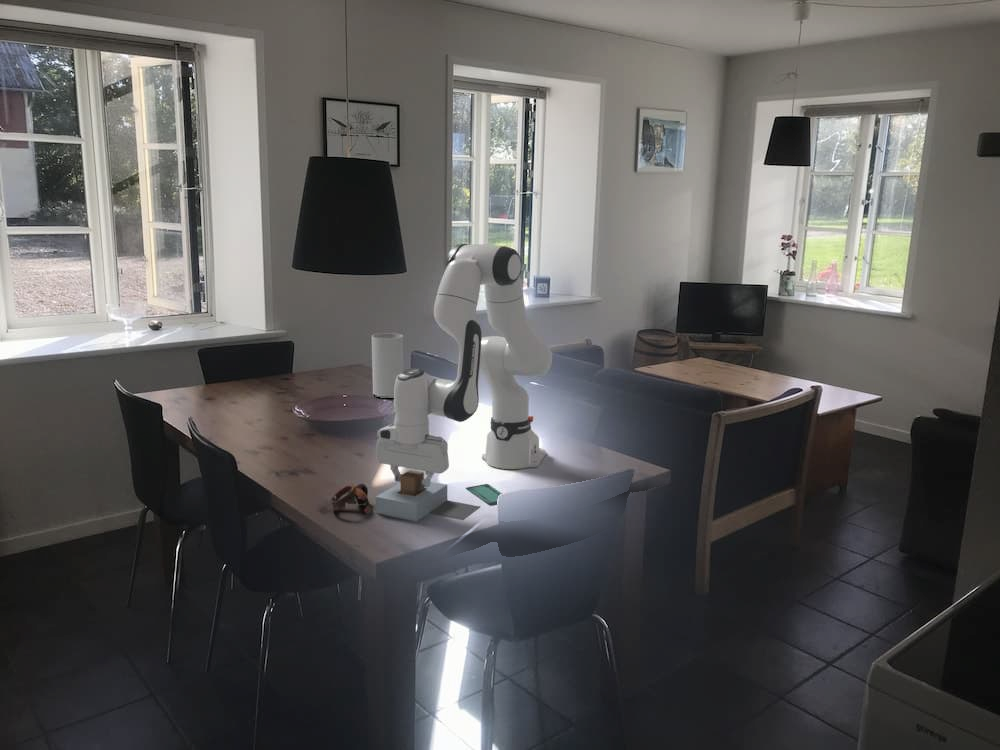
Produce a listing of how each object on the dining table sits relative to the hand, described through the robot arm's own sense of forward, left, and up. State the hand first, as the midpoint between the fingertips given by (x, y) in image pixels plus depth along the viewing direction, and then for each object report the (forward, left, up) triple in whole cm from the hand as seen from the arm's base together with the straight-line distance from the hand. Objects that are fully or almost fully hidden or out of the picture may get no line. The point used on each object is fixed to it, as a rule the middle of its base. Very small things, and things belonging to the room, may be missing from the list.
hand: (412, 483), depth 207 cm
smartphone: (-17, +14, -8) cm, 23 cm away
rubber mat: (-3, +11, -7) cm, 13 cm away
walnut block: (0, 0, -6) cm, 6 cm away
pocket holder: (0, 0, -7) cm, 7 cm away
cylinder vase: (-101, -73, -7) cm, 125 cm away
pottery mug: (+8, -12, -7) cm, 17 cm away
